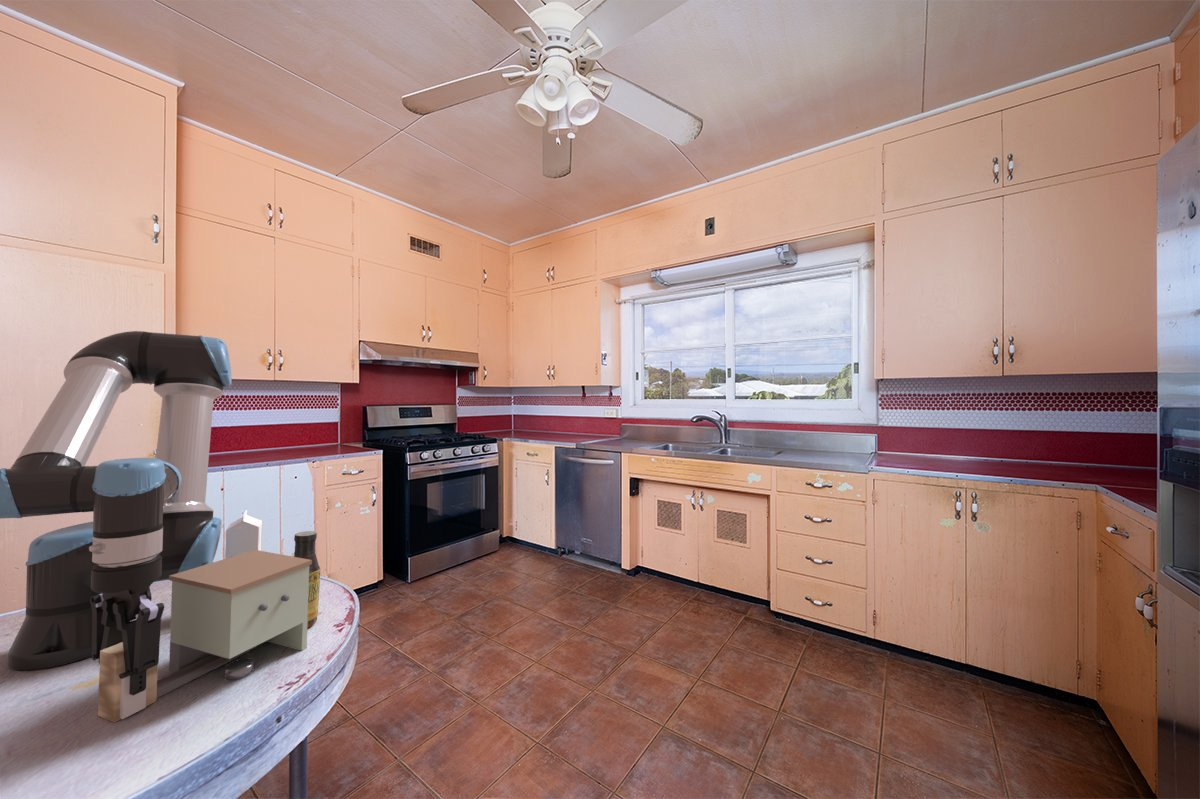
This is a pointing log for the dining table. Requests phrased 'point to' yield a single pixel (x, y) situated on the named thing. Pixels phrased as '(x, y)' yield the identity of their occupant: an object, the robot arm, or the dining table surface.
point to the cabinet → (238, 606)
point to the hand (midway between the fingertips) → (123, 708)
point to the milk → (243, 536)
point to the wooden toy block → (115, 665)
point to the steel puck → (239, 669)
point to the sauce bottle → (307, 551)
